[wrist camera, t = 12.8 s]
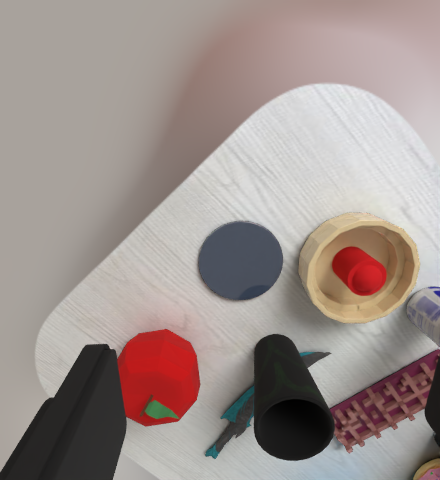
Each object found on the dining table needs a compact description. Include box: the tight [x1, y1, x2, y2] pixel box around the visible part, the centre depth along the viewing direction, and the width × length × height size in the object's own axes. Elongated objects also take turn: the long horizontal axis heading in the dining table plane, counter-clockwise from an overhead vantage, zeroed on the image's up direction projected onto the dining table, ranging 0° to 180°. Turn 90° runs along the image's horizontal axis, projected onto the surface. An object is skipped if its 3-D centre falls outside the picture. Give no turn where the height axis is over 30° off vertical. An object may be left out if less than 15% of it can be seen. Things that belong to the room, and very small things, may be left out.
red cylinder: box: [332, 246, 387, 296], centre depth 34 cm, size 4×4×6 cm
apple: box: [117, 329, 200, 426], centre depth 36 cm, size 11×11×10 cm
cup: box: [254, 334, 335, 461], centre depth 35 cm, size 8×8×12 cm
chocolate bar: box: [330, 349, 440, 453], centre depth 43 cm, size 7×19×2 cm, turn 126°
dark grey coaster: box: [199, 221, 283, 300], centre depth 36 cm, size 10×10×1 cm
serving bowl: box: [298, 213, 420, 323], centre depth 35 cm, size 12×12×4 cm
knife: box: [205, 352, 331, 459], centre depth 43 cm, size 24×1×5 cm
